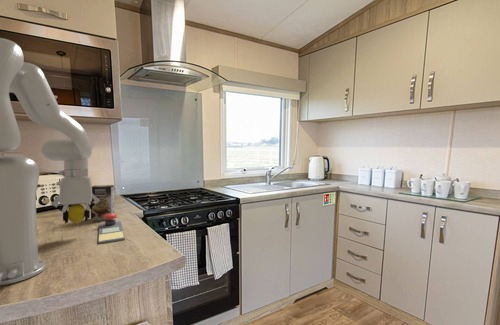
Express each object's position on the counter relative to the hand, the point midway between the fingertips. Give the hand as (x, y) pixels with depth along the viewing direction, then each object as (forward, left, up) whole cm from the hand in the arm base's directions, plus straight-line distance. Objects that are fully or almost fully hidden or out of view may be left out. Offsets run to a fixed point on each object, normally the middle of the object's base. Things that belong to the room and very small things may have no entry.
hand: (76, 220), depth 95 cm
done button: (+10, -11, -3) cm, 15 cm away
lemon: (0, 0, -1) cm, 1 cm away
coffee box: (+25, -8, -6) cm, 27 cm away
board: (0, -11, -6) cm, 13 cm away
